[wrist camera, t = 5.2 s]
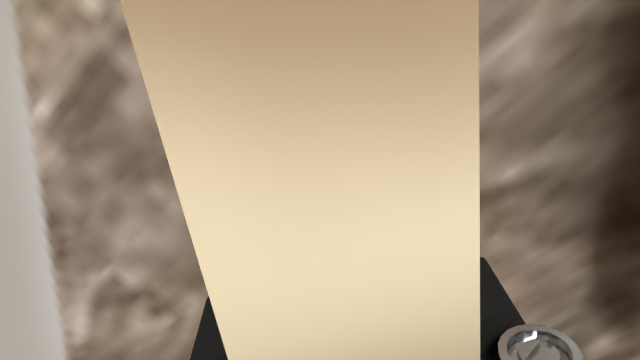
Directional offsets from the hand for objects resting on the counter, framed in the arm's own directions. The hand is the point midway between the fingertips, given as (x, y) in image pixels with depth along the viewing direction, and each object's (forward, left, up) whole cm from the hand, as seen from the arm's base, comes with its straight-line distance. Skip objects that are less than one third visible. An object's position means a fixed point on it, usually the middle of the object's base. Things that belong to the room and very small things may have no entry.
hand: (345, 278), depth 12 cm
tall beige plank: (0, 0, 0) cm, 0 cm away
